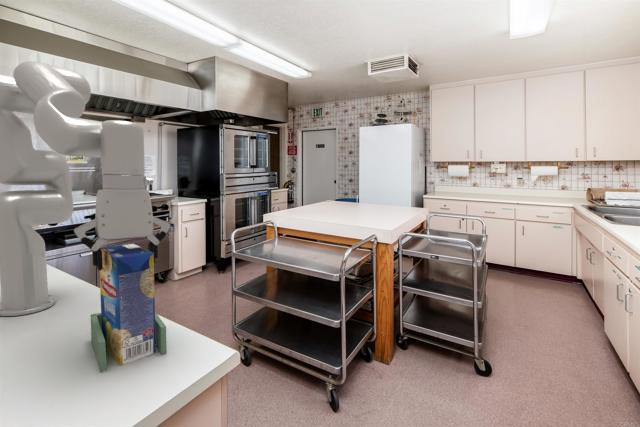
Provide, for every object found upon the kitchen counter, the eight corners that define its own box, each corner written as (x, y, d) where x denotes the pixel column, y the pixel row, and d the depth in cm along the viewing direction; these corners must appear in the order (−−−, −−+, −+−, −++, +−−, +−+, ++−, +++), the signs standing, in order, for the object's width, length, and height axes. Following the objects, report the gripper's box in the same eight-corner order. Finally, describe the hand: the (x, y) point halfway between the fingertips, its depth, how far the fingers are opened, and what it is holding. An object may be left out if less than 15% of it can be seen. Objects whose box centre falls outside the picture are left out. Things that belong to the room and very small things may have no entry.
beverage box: (135, 334, 80) (133, 243, 77) (155, 352, 72) (153, 252, 70) (102, 345, 75) (98, 247, 72) (120, 365, 67) (117, 258, 65)
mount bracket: (91, 339, 77) (90, 314, 76) (149, 326, 84) (149, 303, 83) (100, 372, 65) (99, 342, 64) (166, 352, 73) (166, 326, 72)
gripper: (164, 182, 77) (165, 256, 79) (70, 182, 66) (74, 266, 68) (174, 184, 71) (175, 263, 74) (73, 184, 60) (77, 276, 63)
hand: (126, 265), depth 71 cm, fingers open, 9 cm apart
